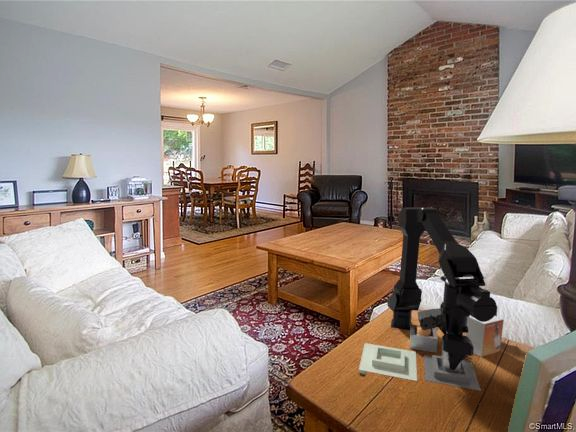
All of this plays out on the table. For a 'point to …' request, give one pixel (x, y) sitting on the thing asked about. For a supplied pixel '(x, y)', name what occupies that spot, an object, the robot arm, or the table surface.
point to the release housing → (423, 340)
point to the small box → (485, 335)
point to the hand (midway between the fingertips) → (450, 362)
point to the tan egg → (423, 331)
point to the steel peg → (445, 363)
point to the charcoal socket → (450, 373)
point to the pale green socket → (388, 361)
